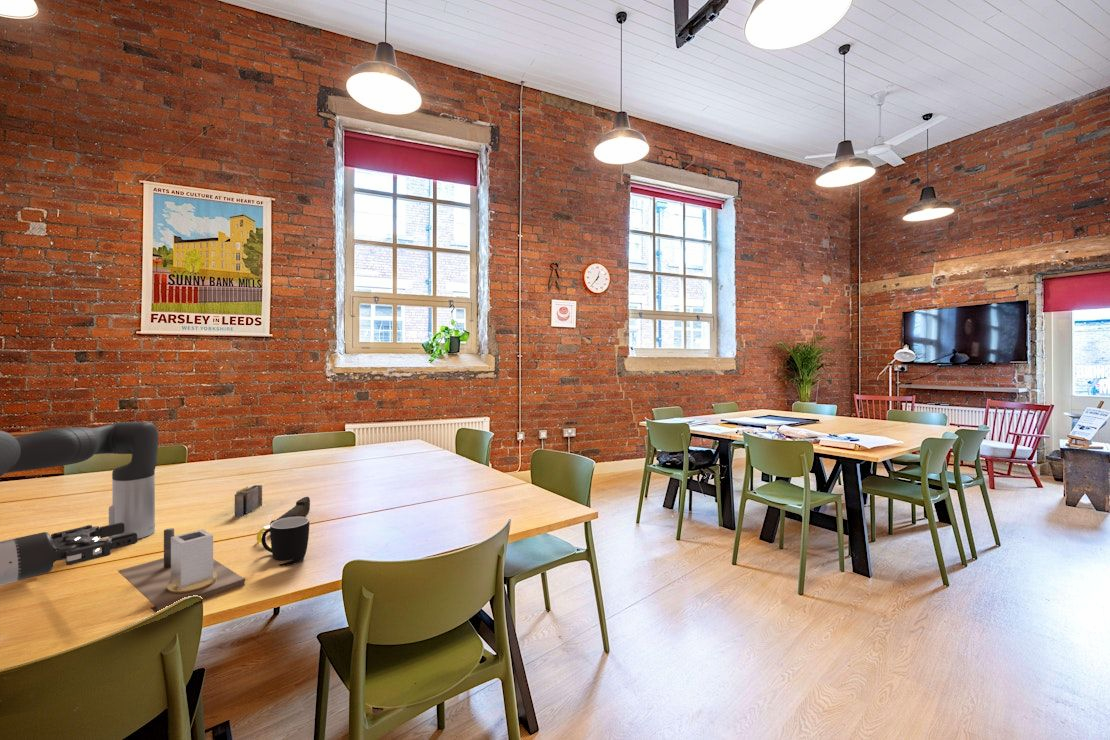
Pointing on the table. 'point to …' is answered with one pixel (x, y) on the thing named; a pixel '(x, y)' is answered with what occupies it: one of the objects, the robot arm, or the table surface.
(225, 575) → the walnut stand board
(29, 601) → the table surface
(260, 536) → the watch
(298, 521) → the mug
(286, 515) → the hand tool
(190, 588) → the disc
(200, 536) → the open-top grey box
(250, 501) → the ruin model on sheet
